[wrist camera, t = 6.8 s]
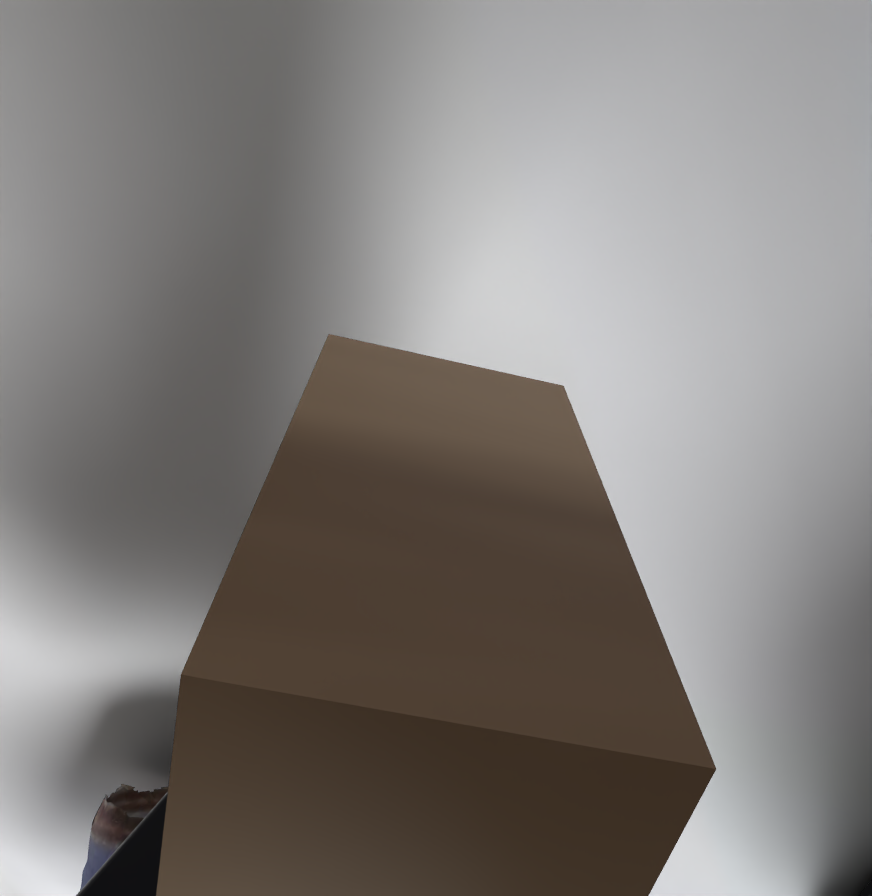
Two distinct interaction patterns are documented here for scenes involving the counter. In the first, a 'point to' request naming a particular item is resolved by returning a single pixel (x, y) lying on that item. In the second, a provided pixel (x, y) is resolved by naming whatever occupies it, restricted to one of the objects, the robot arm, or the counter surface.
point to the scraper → (429, 659)
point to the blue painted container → (117, 824)
